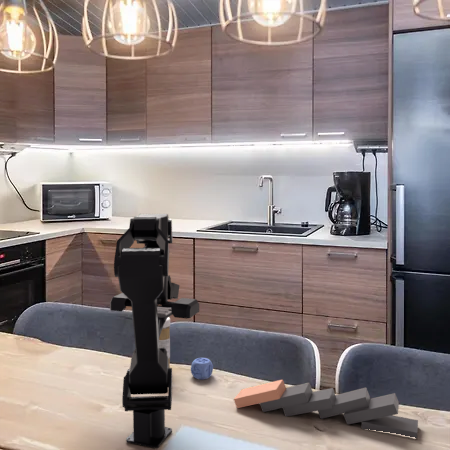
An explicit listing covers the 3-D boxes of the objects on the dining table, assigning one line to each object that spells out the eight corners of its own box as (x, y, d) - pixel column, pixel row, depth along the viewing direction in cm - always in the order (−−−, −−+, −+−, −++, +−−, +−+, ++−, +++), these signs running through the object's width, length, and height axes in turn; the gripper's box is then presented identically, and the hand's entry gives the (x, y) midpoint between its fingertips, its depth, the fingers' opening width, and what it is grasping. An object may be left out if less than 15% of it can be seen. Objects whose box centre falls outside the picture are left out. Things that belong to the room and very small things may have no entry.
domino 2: (269, 401, 103) (312, 391, 100) (263, 412, 99) (307, 401, 95) (266, 392, 103) (309, 382, 100) (259, 402, 99) (304, 392, 95)
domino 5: (350, 413, 98) (398, 402, 94) (347, 424, 94) (398, 414, 90) (346, 403, 98) (395, 393, 95) (343, 414, 94) (393, 403, 90)
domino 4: (323, 408, 101) (369, 396, 98) (320, 418, 96) (369, 406, 93) (320, 399, 101) (366, 387, 98) (317, 409, 96) (365, 397, 93)
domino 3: (290, 405, 102) (336, 397, 98) (285, 416, 97) (333, 408, 94) (287, 396, 102) (332, 387, 99) (282, 407, 97) (329, 398, 94)
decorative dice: (204, 381, 114) (204, 364, 114) (190, 377, 116) (190, 361, 116) (213, 375, 118) (213, 359, 117) (199, 371, 120) (199, 356, 119)
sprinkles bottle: (152, 366, 122) (152, 315, 121) (170, 366, 123) (170, 315, 122) (151, 374, 118) (151, 320, 117) (170, 373, 118) (170, 320, 117)
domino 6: (364, 419, 97) (417, 429, 93) (361, 431, 93) (416, 443, 89) (364, 410, 97) (418, 420, 93) (361, 421, 92) (417, 432, 89)
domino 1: (245, 397, 105) (286, 388, 101) (237, 408, 101) (279, 398, 97) (241, 389, 105) (282, 379, 101) (233, 399, 101) (276, 389, 97)
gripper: (208, 268, 106) (208, 337, 108) (134, 263, 112) (135, 328, 114) (188, 278, 96) (188, 354, 97) (107, 272, 102) (109, 343, 103)
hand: (154, 343), depth 103 cm, fingers closed
